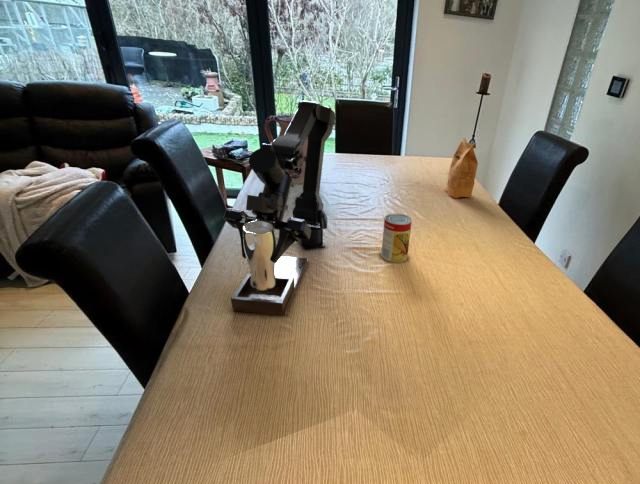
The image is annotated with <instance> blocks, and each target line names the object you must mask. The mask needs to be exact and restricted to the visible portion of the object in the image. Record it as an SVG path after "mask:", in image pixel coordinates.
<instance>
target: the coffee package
mask: <svg viewBox="0 0 640 484" xmlns="http://www.w3.org/2000/svg"><path fill="white" fill-rule="evenodd" d="M476 148H477V145H475V143H470V142H467V140H466V138H463V137H462V139H461V141H460V143H459V144H458V146H457V147H456V150H455V152H454V154H453V156H452V159H451V163H450V166H449V168H448V169H449V170H448V172H447V181H446V187H445V192H447V194H448V196H450V197H452V198H453V199H458V198H469V197H472V195H473V190H474V186H475V183H476V181H475V180H476V177H477V169H478V165H479V162H478V159H477V155H476V153H475V150H474V149H476Z"/></svg>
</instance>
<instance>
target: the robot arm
mask: <svg viewBox="0 0 640 484" xmlns="http://www.w3.org/2000/svg"><path fill="white" fill-rule="evenodd" d="M297 103H298V104H297V110H296V111H295V113H294V114H293V116H294V117H293V119H292V121H291V123H290V125H289V127H288V129H287V131H286V132H285V134H284V135H282V136H280V137H279V136H277V137H276V138H275V139H274V141H273V143H272V144H270V143H262V146H261V147H260V148H258V149H256V150H254V151H252V153H251V155H249V158H248V165H249V167H250V169H251V170H252V171H253V173H254V174H255V176H256V177H257V178H258V179H259V181H260V182H261V183H262V184H264V186H263V189H262V192H261V191H260V192H259V193H258V196H257V195H251V194H247V195H246V203H245V204H246V205H245V210H243V209H237V208H231V207H228V208H227V209H226V210H225V211H224V212H223V216H222V219H223V220H224V221H225V222H226V223H227V224H228V225H230V226H231V227H232V228H233V229H237V230H238V233H239V238H240V248H241V256H242V258H243V259H246V256H245V252H244V246H243V228H242V227H243V225H244V224H246V223H248V222H251V221H267V222H270V223H272V224H273V225H274V229H275V230H278V239H277V241H276V245H277V246H276V249H275V252H274V256H273V263H276V262H277V261H278V260H279V258H280V257H281V256H284V254H285V252H287V250H288V249H289V248H290V247H291V246H292V245H293V244H294V243H295V242H296V243H298V244H299V245H300V247H302V249H304V251H309V250H316V249H321V248H325V247H326V244H325V243H324V230H326V229H328V216H327V214H326V212H325V211H324V203H323V200H322V198H321V196H320V187H321V182H322V173H323V163H324V155H325V154H324V153H325V144H326V142H327V140H328V139H329V137H330V136H331V135H332V133H333V127H334V126H335V125H336V112H335V111H334V110H333V109H332V107H331V106H324V105H321V104H320V103H318V102H317V101H310V100H301V101H299V102H297ZM307 137H308V145H307V154H306V164H305V174H304V183H303V184H302V192H301V193H300V195H299V196H296V197H295V199H294V206H293V208H292V217H289V218H287V221H284V217H285V212H286V211H288V209H289V204H288V201H289V200H288V199H289V197H290V192H291V189H292V188H294V186H295V184H294V183H293V179H292V178H291V175H290V174H289V173H288V172H286V171H285V170H289V171H298V170H299V169H300V167H302V165H303V162H304V156H303V151H302V148H303V145H304V143H305V141H306V139H307ZM246 211H250V212H251V214H252V215H254V216H250V215H248V214H247V212H246Z"/></svg>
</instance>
